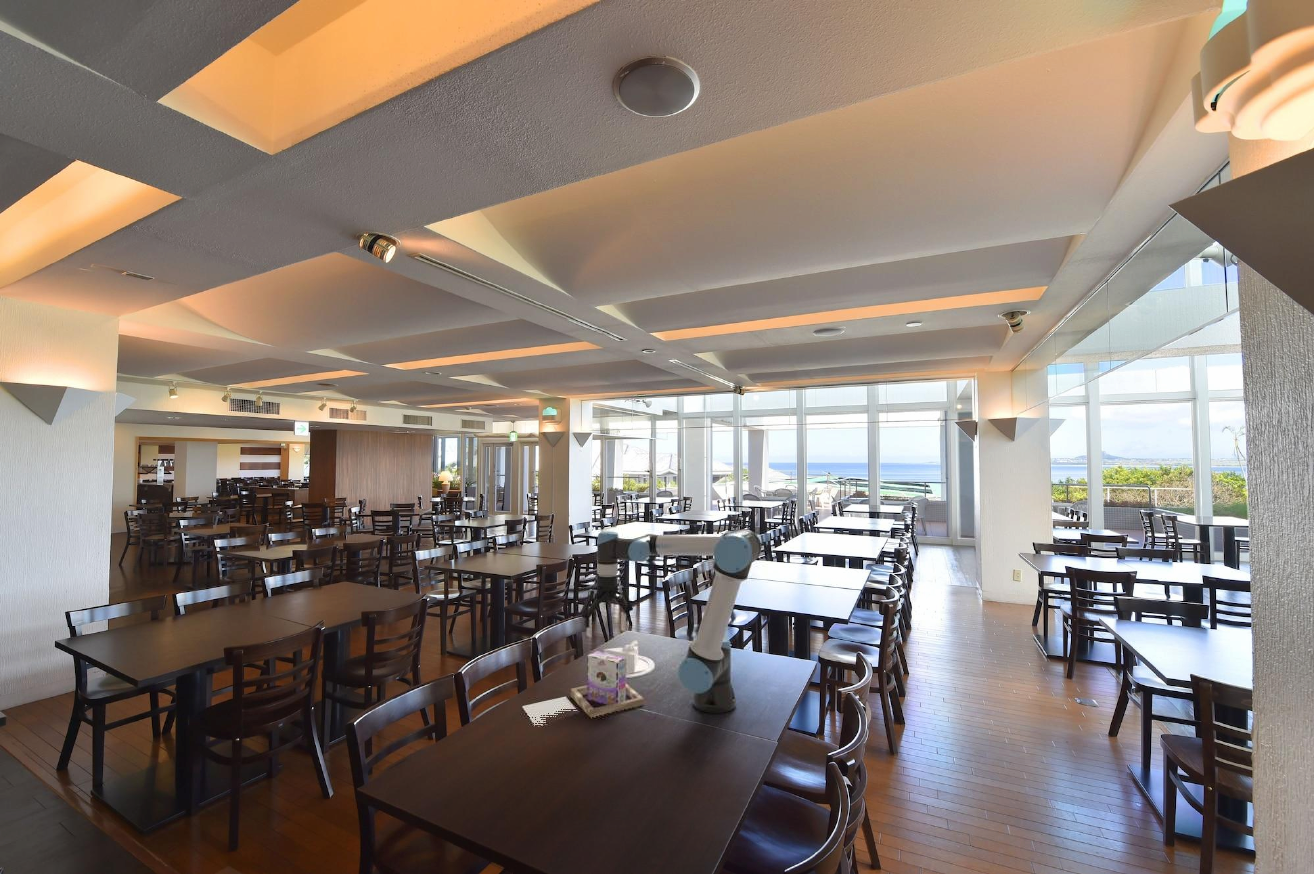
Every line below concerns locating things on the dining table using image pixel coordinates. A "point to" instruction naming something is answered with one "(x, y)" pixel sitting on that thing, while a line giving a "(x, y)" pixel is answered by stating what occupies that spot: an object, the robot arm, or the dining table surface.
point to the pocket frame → (593, 712)
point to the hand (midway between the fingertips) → (606, 633)
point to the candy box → (606, 678)
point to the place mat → (547, 709)
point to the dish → (633, 660)
